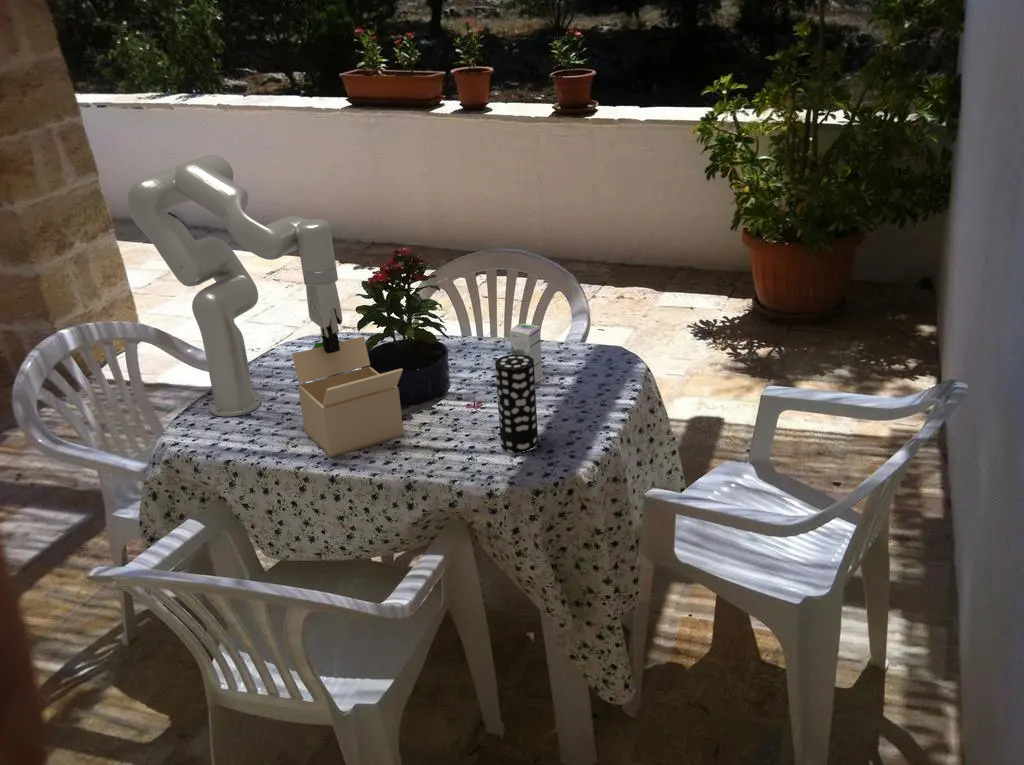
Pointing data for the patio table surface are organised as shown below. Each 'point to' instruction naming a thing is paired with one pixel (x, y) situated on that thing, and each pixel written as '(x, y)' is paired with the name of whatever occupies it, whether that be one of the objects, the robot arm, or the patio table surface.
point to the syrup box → (528, 345)
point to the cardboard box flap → (362, 387)
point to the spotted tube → (516, 402)
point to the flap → (331, 360)
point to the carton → (350, 415)
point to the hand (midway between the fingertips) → (332, 351)
